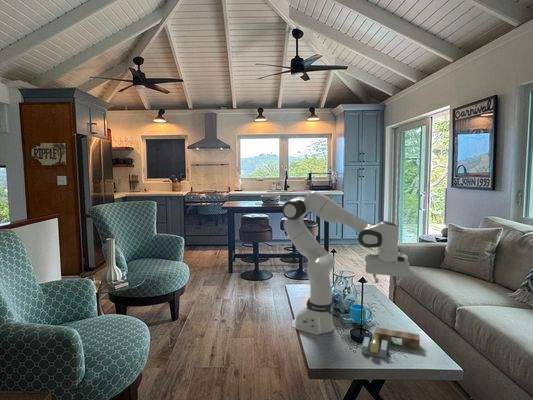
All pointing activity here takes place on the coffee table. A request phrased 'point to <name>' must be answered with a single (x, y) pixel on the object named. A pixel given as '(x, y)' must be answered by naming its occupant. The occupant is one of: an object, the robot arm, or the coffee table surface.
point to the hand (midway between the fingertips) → (387, 284)
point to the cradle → (381, 352)
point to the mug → (358, 313)
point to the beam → (407, 338)
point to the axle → (375, 344)
